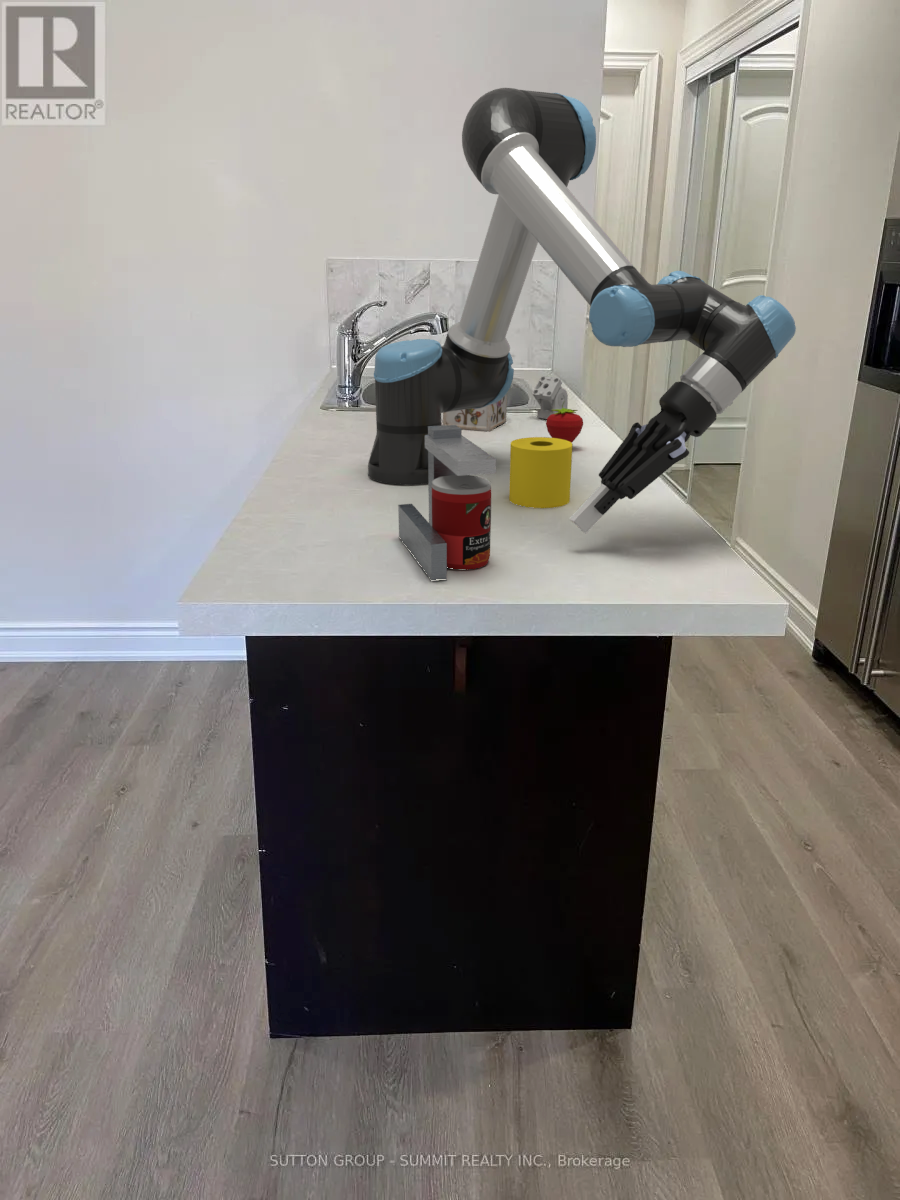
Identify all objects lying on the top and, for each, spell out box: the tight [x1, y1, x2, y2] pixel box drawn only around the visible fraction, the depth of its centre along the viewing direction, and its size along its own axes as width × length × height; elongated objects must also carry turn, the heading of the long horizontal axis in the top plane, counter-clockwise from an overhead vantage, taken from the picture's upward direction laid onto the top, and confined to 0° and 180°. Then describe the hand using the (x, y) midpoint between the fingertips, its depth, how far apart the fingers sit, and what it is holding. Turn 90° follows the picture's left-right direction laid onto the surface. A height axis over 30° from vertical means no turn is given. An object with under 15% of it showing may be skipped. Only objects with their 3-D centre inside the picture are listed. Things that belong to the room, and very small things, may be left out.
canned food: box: [432, 475, 492, 571], centre depth 120 cm, size 8×8×11 cm
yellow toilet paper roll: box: [508, 436, 573, 509], centre depth 149 cm, size 10×10×9 cm
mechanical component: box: [531, 375, 569, 420], centre depth 213 cm, size 5×8×10 cm
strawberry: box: [545, 401, 584, 444], centre depth 183 cm, size 6×8×10 cm
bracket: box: [397, 424, 497, 581], centre depth 122 cm, size 10×20×16 cm, turn 16°
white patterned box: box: [442, 393, 508, 432], centre depth 205 cm, size 12×12×18 cm
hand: (577, 526), depth 125 cm, fingers closed
